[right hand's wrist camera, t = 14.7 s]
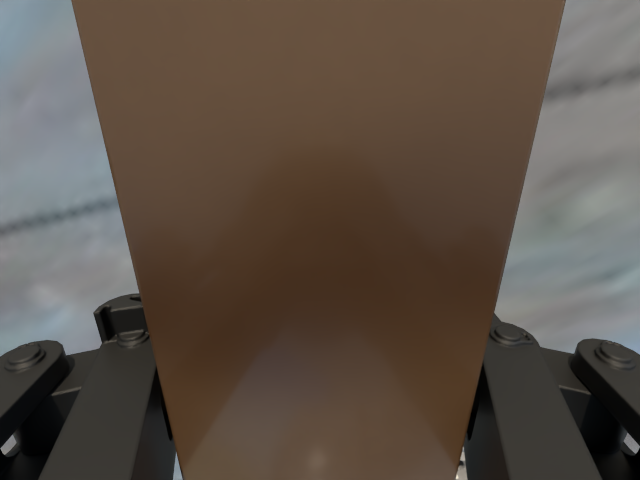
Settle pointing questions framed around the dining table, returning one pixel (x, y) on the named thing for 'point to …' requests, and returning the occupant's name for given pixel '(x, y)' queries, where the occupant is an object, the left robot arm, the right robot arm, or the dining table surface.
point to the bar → (318, 216)
